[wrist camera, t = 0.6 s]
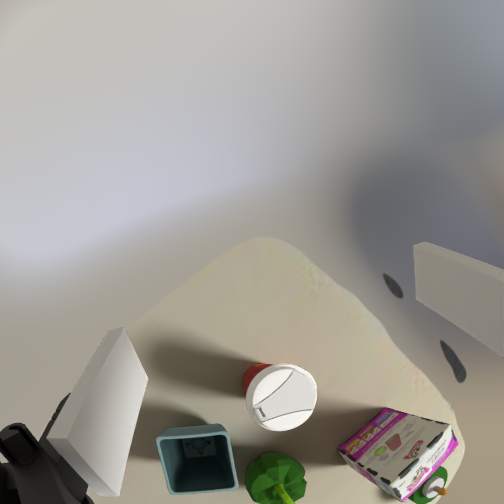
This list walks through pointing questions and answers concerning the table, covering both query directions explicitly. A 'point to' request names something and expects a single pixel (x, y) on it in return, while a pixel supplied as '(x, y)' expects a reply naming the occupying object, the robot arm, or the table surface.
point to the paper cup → (279, 395)
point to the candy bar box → (399, 451)
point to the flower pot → (197, 459)
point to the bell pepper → (275, 479)
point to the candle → (431, 487)
